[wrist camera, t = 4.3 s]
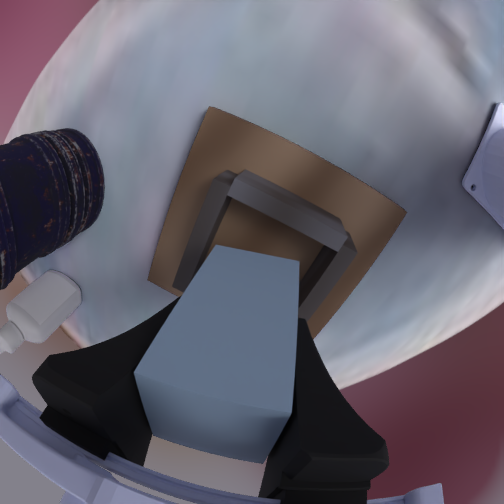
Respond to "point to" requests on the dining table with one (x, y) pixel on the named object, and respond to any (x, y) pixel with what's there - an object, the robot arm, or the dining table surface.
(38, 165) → the storage jar
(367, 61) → the dining table surface
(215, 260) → the peg
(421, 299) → the dining table surface
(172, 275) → the socket
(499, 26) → the dining table surface
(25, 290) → the eye dropper bottle
